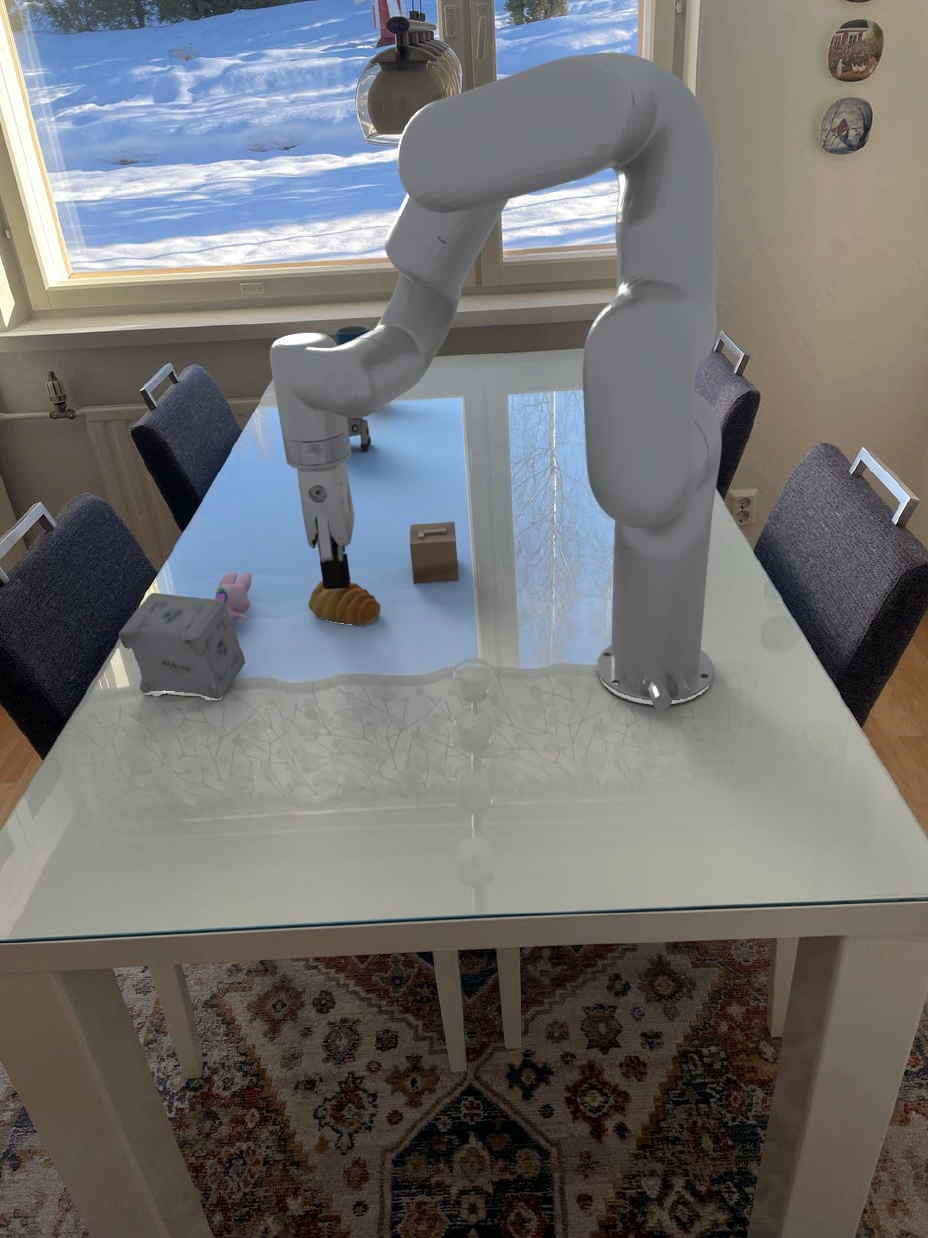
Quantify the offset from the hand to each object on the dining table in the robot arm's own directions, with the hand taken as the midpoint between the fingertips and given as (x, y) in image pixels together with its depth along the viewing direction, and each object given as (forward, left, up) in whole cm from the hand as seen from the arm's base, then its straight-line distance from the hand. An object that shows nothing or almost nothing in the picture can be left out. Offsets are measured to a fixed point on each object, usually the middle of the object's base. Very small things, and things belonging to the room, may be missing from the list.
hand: (337, 585), depth 117 cm
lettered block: (+10, -12, -4) cm, 16 cm away
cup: (+88, +3, -5) cm, 88 cm away
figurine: (+63, +4, -5) cm, 63 cm away
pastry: (+1, 0, -5) cm, 5 cm away
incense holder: (-14, +16, -5) cm, 22 cm away
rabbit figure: (+1, +14, -5) cm, 15 cm away
